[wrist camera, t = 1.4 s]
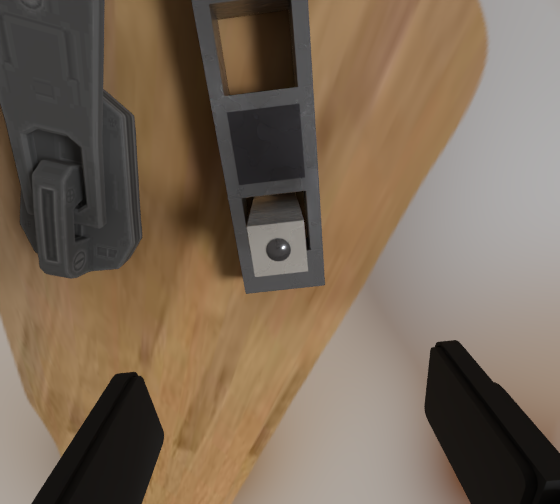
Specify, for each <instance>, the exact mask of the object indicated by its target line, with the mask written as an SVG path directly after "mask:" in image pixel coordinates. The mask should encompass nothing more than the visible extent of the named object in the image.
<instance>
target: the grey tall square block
mask: <svg viewBox="0 0 560 504" xmlns="http://www.w3.org/2000/svg"><path fill="white" fill-rule="evenodd" d="M247 232H248V238H249V244H250V250H251V256H252V262H253V268H254V274H255V277H261V276H270V275H279V274H288V273H297V272H306V271H308V263H307V251H306V239H305V227H304V219H303V216H302V212H301V209H300V206H299V203H298V199H297V196H296V193H295V192H290V193H281V194H273V195H264V196H256V197H254V199H253V203H252V207H251V211H250V215H249V219H248V223H247Z"/></svg>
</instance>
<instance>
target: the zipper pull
mask: <svg viewBox="0 0 560 504" xmlns="http://www.w3.org/2000/svg"><path fill="white" fill-rule="evenodd" d="M103 63H104V0H0V105H1V108H2V112H3V115H4V118H5V122H6V126H7V130H8V134H9V139H10V143H11V147H12V151H13V156H14V160H15V164H16V168H17V172H18V177H19V181H20V185H21V203H20V225H21V226H22V228H23V230H24V232H25V234H26V236H27V238H28V239H29V241H30V243H31V245H32V247H33V249H34V251H35V252H36V253H38V257H39V266H40V268H41V269H42V270H43V271H44V272H45V273H46V274H49V275H55V276H60V277H65V278H77V277H79V276H81V275H83V274H85V273H87V272H90V271H99V270H111V269H119V268H120V267H121V266H122V265H123V264H124V263H125V262H126V261H127V260H128V259H129V258H130V257H131V255H132V254H133V252H134V250H135V249H136V247H137V245H138V244H139V242H140V240H141V239H142V226H141V214H140V199H139V182H138V164H137V146H136V129H135V119H134V115H133V114H132V113H131V112H130V111H128V110H127V109H126V108H125V107H124V106H123V105H121V104H120V103H119V102H118V101H117V100H116V99H114V98H113V97H112V96H111V95H110V94H109V93H108V92H106V91H105V90H104V89H103Z"/></svg>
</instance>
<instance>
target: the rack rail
mask: <svg viewBox="0 0 560 504" xmlns="http://www.w3.org/2000/svg"><path fill="white" fill-rule="evenodd" d="M192 6H193V11H194V17H195V22H196V27H197V33H198V38H199V44H200V49H201V54H202V60H203V65H204V71H205V76H206V81H207V87H208V92H209V97H210V103H211V108H212V114H213V119H214V124H215V130H216V135H217V141H218V146H219V151H220V157H221V162H222V168H223V173H224V178H225V184H226V189H227V195H228V200H229V205H230V211H231V216H232V221H233V227H234V232H235V238H236V243H237V248H238V254H239V259H240V265H241V270H242V275H243V281H244V286H245V292H246V294H248V293H258V292H267V291H276V290H285V289H294V288H304V287H313V286H322V285H325V278H324V261H323V245H322V228H321V211H320V194H319V178H318V161H317V144H316V128H315V111H314V94H313V78H312V61H311V44H310V27H309V11H308V0H192ZM283 10H289V23H290V35H291V47H292V59H293V72H294V84H295V87H294V88H286V89H278V90H270V91H262V92H254V93H246V94H238V95H229V89H228V83H227V77H226V70H225V64H224V58H223V52H222V46H221V39H220V33H219V27H218V21H217V19H223V18H231V17H238V16H246V15H253V14H261V13H268V12H276V11H283ZM298 191H303V194H304V206H305V218H306V231H307V237H305V239H306V251H307V263H308V271H306V272H297V273H288V274H279V275H270V276H261V277H255V274H254V268H253V262H252V256H251V250H250V244H249V238H248V232H247V223H248V219H249V213H248V207H247V201H246V197H255V196H264V195H272V194H281V193H289V192H298Z"/></svg>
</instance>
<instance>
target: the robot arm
mask: <svg viewBox="0 0 560 504" xmlns="http://www.w3.org/2000/svg"><path fill="white" fill-rule="evenodd" d="M425 414H426V417H427V419H428V421H429V423H430V425H431V427H432V429H433V431H434V433H435V435H436V437H437V439H438V441H439V442H440V444H441V447H442V448H443V450H444V452H445V454H446V456H447V458H448V460H449V462H450V464H451V466H452V468H453V470H454V471H455V474H456V476H457V478H458V480H459V481H460V483H461V485H462V487H463V489H464V491H465V493H466V495H467V497H468V499H469V501H470V503H471V504H560V453H559V452H558V451H557V450H556V448H555V447H554V446H553V445H552V444H551V443H550V442H549V440H548V439H547V438H546V437H545V436H544V435H543V434H542V432H541V431H540V430H539V429H538V428H537V426H536V425H535V424H534V423H533V422H532V421H531V420H530V418H529V417H528V416H527V415H526V414H525V413H524V412H523V411H522V409H521V408H520V407H519V406H518V405H517V403H515V402H514V400H513V399H512V398H511V396H510V395H509V394H508V393H507V392H506V391H505V390H504V389H503V388H502V387H501V386H500V385H499V384H497V383H495V382H493V381H492V380H491V379H490V378H489V376H487V374H486V373H485V372H484V371H483V369H482V368H481V367H480V366H479V365H478V363H476V361H475V360H474V359H473V358H472V356H471V355H470V354H469V353H468V352H467V350H466V349H465V348H464V347H463V346H462V345H461V344H460V343H459V342H458V341H456V340H453V341H443V342H437V343H436V345H435V347H433V348H431V350H430V360H429V369H428V378H427V388H426V397H425ZM163 440H164V432H163V429H162V426H161V424H160V421H159V418H158V416H157V413H156V411H155V408H154V405H153V403H152V400H151V398H150V395H149V392H148V390H147V387H146V385H145V382H144V379H143V378H142V377H141V376H138V374H137V373H136V372H129V373H119V374H116V375H114V377H113V378H112V379H111V381H110V383H109V384H108V386H107V387H106V389H105V390H104V392H103V393H102V395H101V397H100V398H99V400H98V401H97V403H96V404H95V406H94V407H93V409H92V410H91V412H90V414H89V415H88V417H87V418H86V420H85V421H84V423H83V424H82V426H81V428H80V429H79V431H78V432H77V434H76V435H75V437H74V438H73V440H72V442H71V443H70V445H69V446H68V448H67V449H66V451H65V452H64V454H63V456H62V457H61V459H60V460H59V462H58V463H57V465H56V466H55V468H54V469H53V471H52V473H51V474H50V476H49V477H48V479H47V480H46V482H45V483H44V485H43V487H42V488H41V490H40V491H39V493H38V494H37V496H36V497H35V499H34V501H33V502H32V504H142V501H143V498H144V496H145V493H146V490H147V487H148V484H149V481H150V479H151V476H152V473H153V470H154V467H155V464H156V462H157V459H158V456H159V453H160V450H161V447H162V445H163Z"/></svg>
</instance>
